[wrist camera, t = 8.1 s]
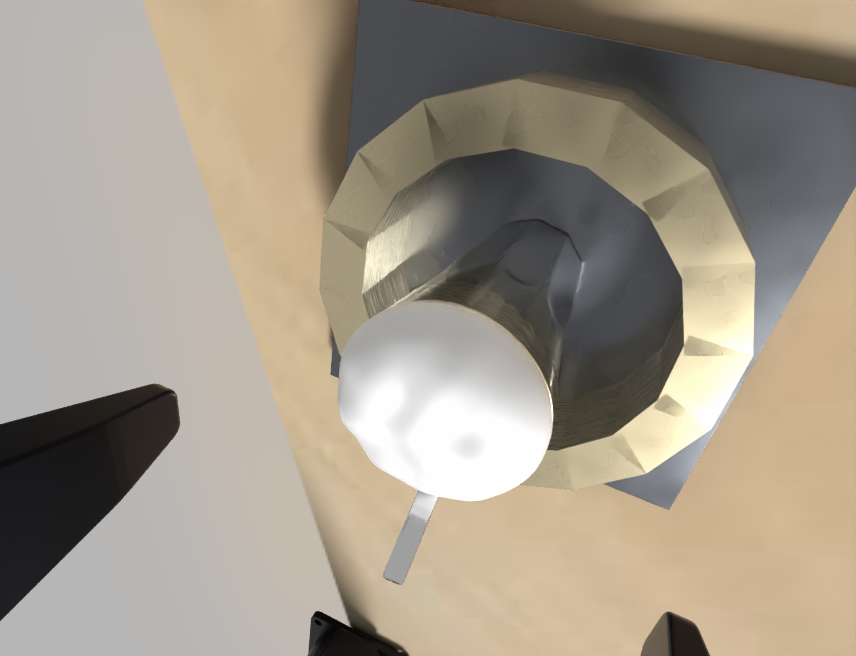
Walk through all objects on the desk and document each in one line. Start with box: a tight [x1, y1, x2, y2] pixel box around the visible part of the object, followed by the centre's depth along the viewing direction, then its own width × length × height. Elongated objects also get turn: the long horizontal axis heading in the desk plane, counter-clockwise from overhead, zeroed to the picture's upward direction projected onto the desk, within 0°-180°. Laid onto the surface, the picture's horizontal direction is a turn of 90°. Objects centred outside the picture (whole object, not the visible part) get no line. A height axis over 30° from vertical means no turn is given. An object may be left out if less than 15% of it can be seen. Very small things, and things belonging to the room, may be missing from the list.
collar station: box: [320, 0, 856, 510], centre depth 17 cm, size 14×14×4 cm
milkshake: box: [338, 220, 582, 585], centre depth 14 cm, size 4×5×10 cm
